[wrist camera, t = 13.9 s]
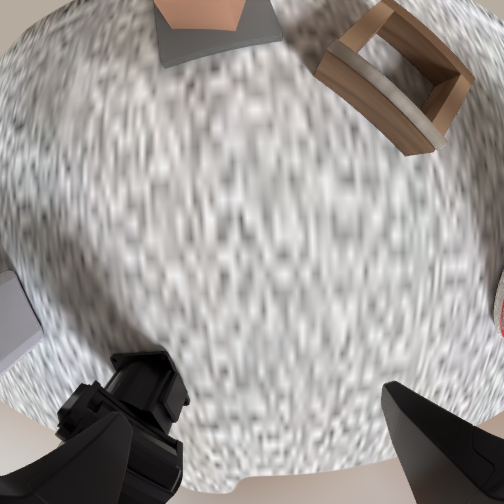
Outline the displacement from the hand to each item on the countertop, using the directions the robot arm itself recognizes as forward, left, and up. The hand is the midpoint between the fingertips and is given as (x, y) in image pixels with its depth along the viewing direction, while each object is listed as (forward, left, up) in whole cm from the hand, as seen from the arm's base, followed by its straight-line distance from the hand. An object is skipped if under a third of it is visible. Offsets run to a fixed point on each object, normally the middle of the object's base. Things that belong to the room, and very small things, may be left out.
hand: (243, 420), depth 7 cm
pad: (+1, +22, -13) cm, 26 cm away
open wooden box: (+14, +13, -13) cm, 23 cm away
